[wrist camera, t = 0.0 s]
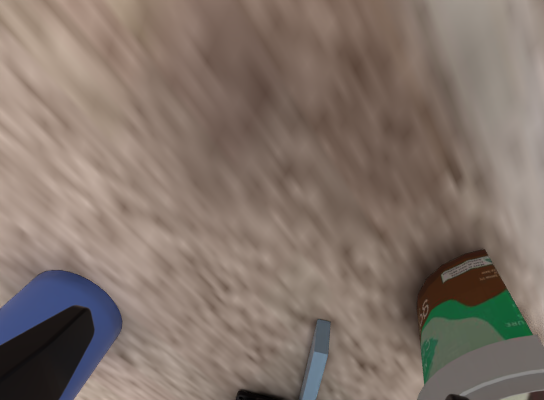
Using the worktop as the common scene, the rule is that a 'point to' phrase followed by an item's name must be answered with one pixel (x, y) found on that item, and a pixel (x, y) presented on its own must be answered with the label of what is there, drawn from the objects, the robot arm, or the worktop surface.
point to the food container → (476, 336)
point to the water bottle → (53, 299)
